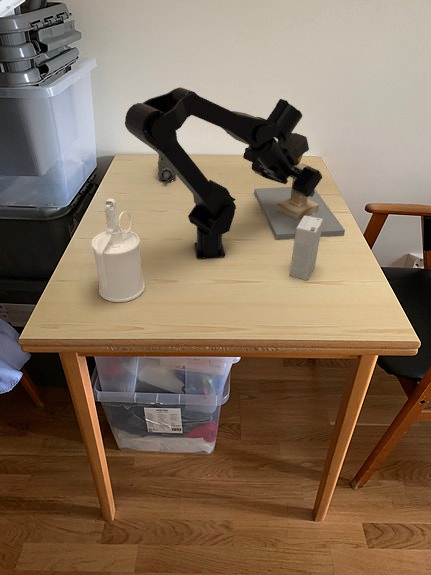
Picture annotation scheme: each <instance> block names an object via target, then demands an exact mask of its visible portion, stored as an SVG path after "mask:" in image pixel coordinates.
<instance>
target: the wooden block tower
mask: <svg viewBox="0 0 431 575" xmlns="http://www.w3.org/2000/svg"><path fill="white" fill-rule="evenodd" d="M307 166H309V167H312V166H310V165H308V164H305V163H299V165H297V166H294V167H295V168H298V169H300V170H303V168H304V167H307ZM295 180H296V179H294V178H292V183H291V187H292V190H291V198H290V199H287V200H284V201H282V202H279V203H278V204H277V210H278V211H280V212H282V213H283V214H285V215H287V216H289V217H291V218H293V219H295V220H298V219H301V218H303V217H304V216H308V215H311V214H313V213H315V212H318V209H319V204H317V203H315V202H313V201H311V200H309V199H307V198H308V197H305V196H302V195H300V194H298V193H296V191H294V190H293V183H294V181H295Z"/></svg>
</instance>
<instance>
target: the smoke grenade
mask: <svg viewBox="0 0 431 575" xmlns="http://www.w3.org/2000/svg"><path fill="white" fill-rule="evenodd" d="M104 204H105V207H104V213H105V219H106V221H105V224H106V227H107V228H106V230H104V231H102V232H100V233H98V234H96V235H95V236H94V237H93V238H92V239H91V241H90V246H91V249H92V251H93V255H94V260H95V266H96V267H95V268H96V273H97V278H98V284H99V285H98V286H99V287H98V294H99V295H100V296H101V297H102V298H103V299H104V300H106V301H107V302H108V301H109V302H112V303H126V302H130V301H133V300H136V299H137V298H139V296H141V295H142V294H143V293H144V291H145V288H146V286H145V281H144V280H143V279H144V278H143V268H142V259H141V250H140V244H141V237H140V235H138V234H137V233H136V232H135V231H132V226H133V219H132V215H131V214H130V212H129V211H126V210H124V211H122V212H121V213H120V214H119V216H118V210H117V209H118V208H117V202H116V201H115V199H114V198H108V199H106V200H105V203H104ZM124 214H127V216H128V217H129V218H128V220H129V226H128V228H127V229H125V228H122V227H121V223H120V221H121V220H122V217H123V215H124Z"/></svg>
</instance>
